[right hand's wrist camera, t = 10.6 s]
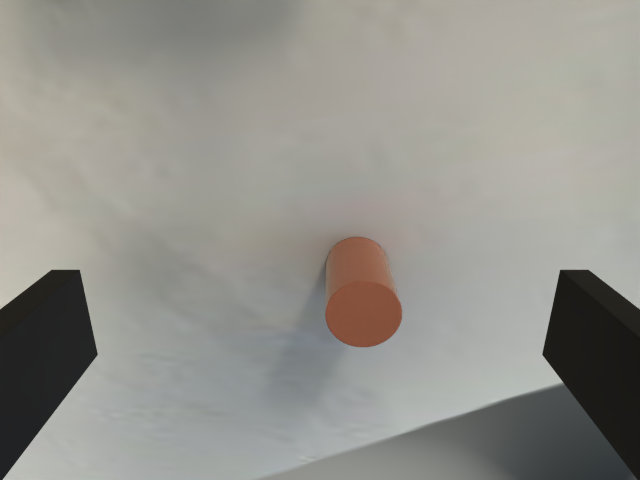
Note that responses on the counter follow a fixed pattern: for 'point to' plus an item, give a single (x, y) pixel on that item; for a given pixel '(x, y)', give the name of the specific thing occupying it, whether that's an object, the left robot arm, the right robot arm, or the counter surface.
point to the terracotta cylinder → (361, 293)
